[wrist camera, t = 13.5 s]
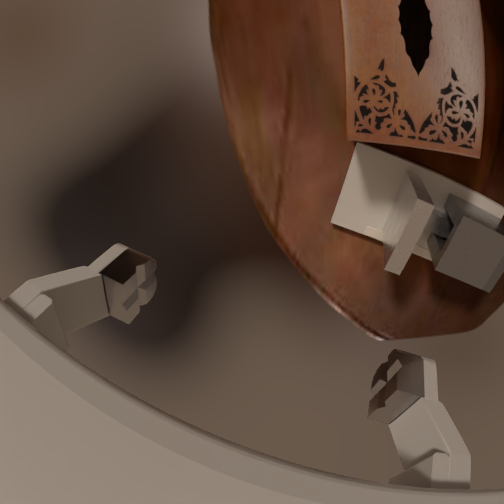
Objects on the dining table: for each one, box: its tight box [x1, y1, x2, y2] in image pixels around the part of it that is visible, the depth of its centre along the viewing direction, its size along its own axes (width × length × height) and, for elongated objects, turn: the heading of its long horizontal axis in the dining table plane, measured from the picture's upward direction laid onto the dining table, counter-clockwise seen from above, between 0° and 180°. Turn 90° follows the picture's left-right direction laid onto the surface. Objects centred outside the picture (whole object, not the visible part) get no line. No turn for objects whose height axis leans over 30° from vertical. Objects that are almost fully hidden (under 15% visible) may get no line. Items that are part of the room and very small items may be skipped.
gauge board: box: [331, 141, 504, 261], centre depth 38 cm, size 12×24×1 cm, turn 78°
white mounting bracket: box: [382, 170, 454, 275], centre depth 33 cm, size 11×11×10 cm
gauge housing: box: [427, 193, 504, 293], centre depth 33 cm, size 8×10×7 cm
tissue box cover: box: [339, 0, 485, 159], centre depth 23 cm, size 26×14×10 cm, turn 3°
